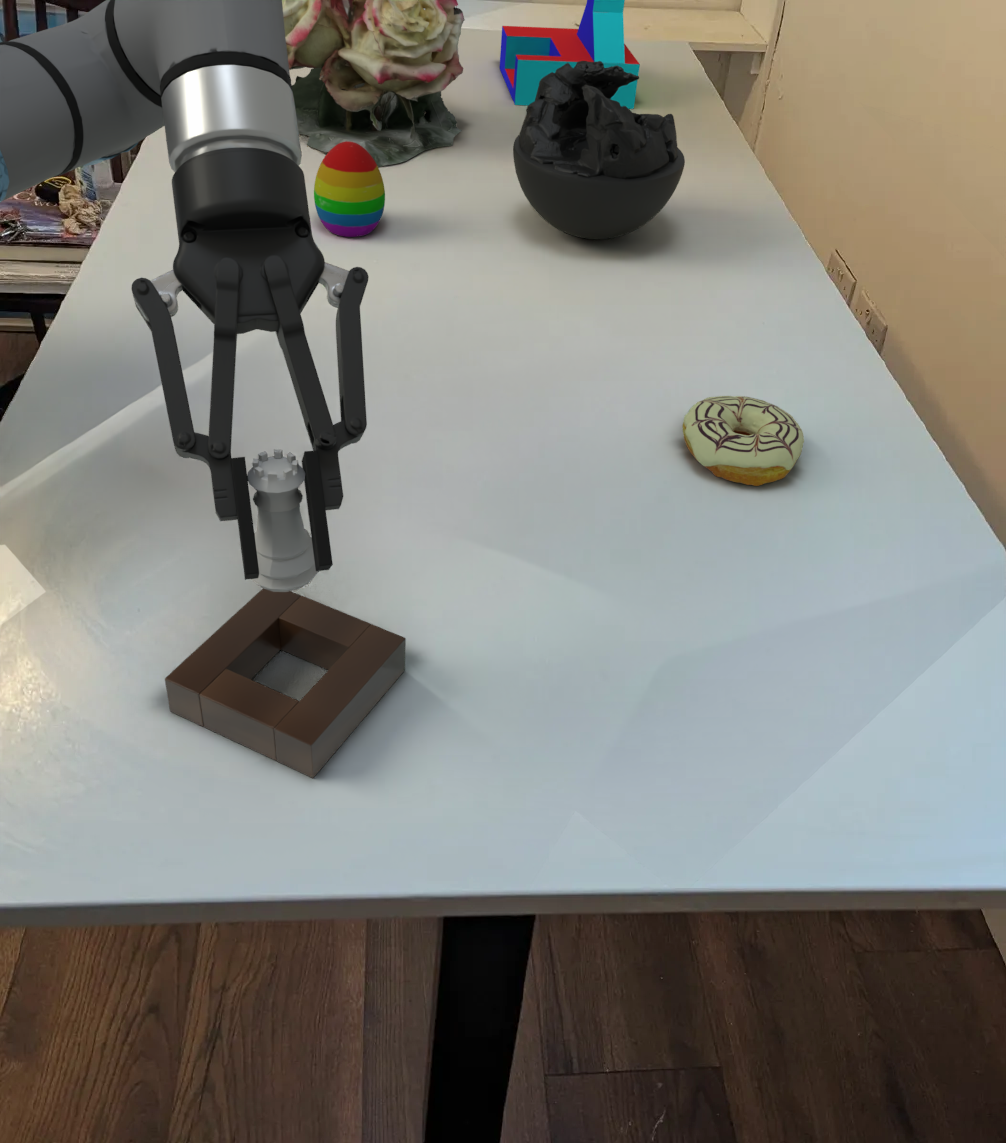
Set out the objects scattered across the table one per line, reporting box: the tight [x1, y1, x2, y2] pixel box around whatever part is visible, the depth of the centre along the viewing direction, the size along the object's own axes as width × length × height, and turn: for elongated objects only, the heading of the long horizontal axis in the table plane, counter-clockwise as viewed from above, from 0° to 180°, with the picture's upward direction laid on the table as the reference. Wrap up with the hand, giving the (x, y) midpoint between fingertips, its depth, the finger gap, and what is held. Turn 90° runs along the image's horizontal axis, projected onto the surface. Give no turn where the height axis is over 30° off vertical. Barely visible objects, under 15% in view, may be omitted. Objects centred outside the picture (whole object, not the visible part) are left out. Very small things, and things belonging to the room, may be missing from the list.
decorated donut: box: [681, 395, 805, 487], centre depth 99 cm, size 10×11×4 cm
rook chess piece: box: [247, 448, 320, 592], centre depth 66 cm, size 4×4×8 cm
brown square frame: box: [164, 588, 407, 779], centre depth 73 cm, size 11×11×3 cm
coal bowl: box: [512, 61, 686, 240], centre depth 131 cm, size 20×20×19 cm
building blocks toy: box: [499, 0, 641, 110], centre depth 178 cm, size 19×25×18 cm
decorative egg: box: [313, 141, 386, 238], centre depth 130 cm, size 8×8×10 cm
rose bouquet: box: [282, 0, 466, 168], centre depth 149 cm, size 26×29×30 cm
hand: (288, 571), depth 63 cm, fingers closed on rook chess piece, 3 cm apart
